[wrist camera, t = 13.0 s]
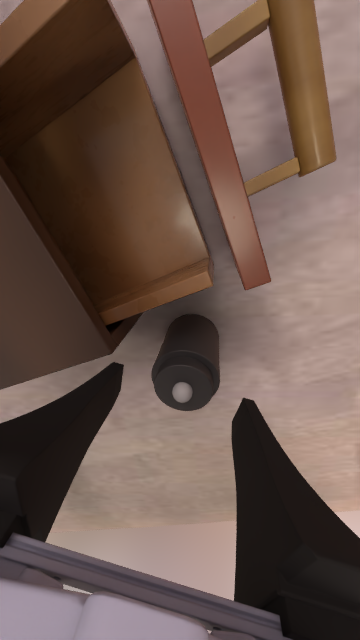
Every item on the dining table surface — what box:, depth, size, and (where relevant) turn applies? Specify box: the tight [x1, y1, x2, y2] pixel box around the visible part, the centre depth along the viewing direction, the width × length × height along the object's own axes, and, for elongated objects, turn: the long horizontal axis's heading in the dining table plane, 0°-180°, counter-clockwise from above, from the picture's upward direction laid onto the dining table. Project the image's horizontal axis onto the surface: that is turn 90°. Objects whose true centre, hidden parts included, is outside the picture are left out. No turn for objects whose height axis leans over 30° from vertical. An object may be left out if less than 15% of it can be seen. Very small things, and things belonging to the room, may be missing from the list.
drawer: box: [0, 0, 336, 326], centre depth 11 cm, size 16×13×5 cm
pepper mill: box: [152, 314, 220, 411], centre depth 16 cm, size 4×4×7 cm
